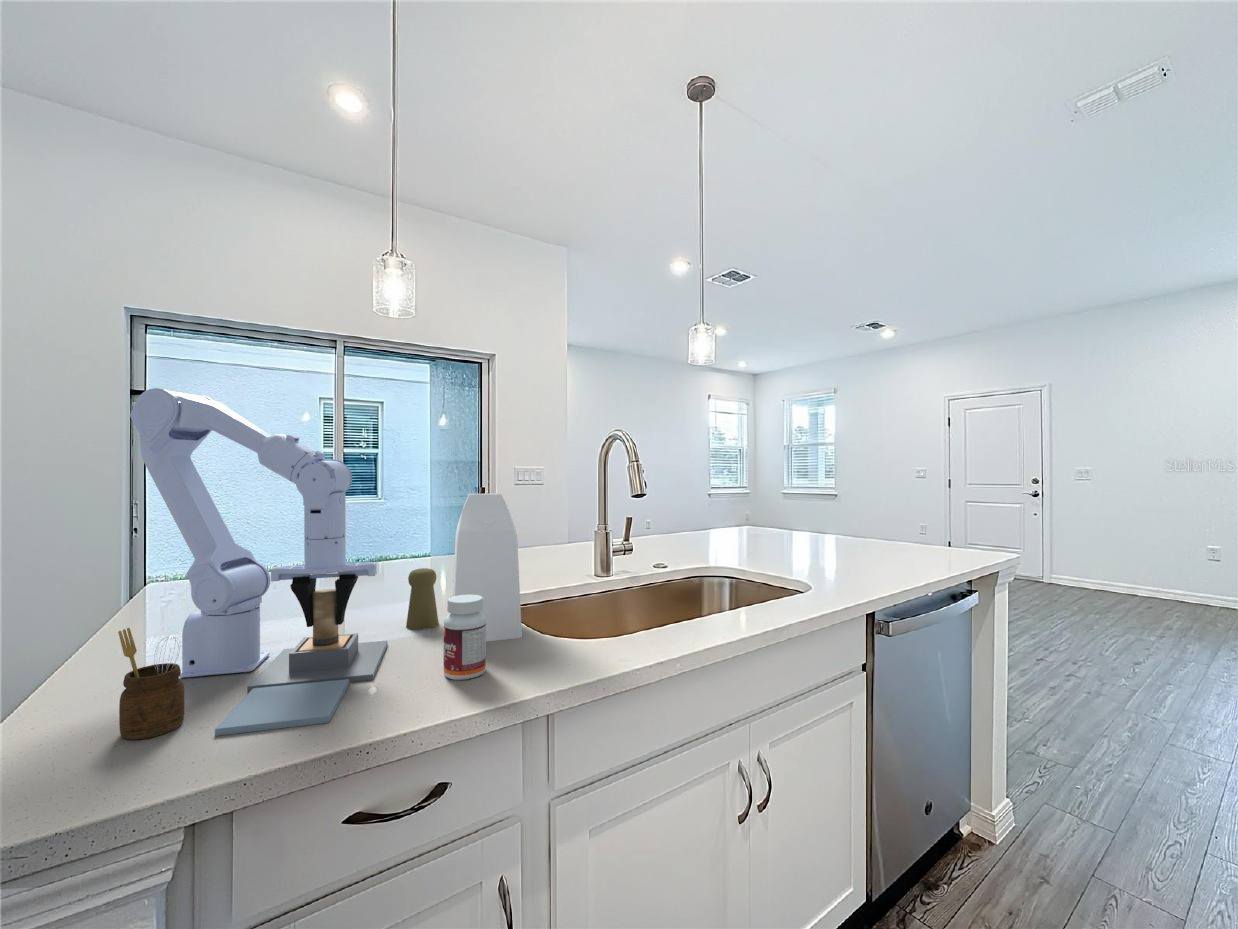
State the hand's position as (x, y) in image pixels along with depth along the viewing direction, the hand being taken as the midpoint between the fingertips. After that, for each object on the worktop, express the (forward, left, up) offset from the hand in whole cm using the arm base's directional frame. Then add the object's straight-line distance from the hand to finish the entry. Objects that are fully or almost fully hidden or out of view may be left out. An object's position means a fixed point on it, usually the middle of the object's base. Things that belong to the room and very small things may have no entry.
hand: (325, 624), depth 86 cm
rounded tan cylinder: (0, 0, -3) cm, 3 cm away
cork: (+13, +19, -7) cm, 24 cm away
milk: (+25, +11, -7) cm, 28 cm away
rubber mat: (-1, -15, -7) cm, 16 cm away
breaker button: (0, 0, -5) cm, 5 cm away
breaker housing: (0, 0, -7) cm, 7 cm away
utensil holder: (-15, -17, -7) cm, 24 cm away
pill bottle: (+21, -9, -7) cm, 24 cm away
